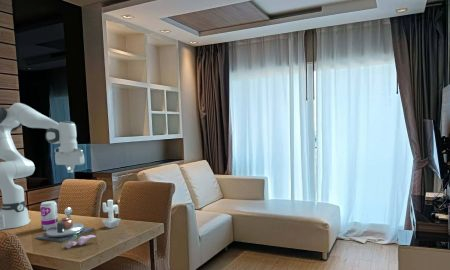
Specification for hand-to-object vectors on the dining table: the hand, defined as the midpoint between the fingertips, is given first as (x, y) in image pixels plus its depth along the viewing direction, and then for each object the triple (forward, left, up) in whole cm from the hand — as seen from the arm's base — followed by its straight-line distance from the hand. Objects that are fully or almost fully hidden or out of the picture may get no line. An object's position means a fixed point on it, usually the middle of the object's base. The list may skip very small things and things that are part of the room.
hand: (70, 172), depth 191 cm
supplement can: (-10, -8, -31) cm, 34 cm away
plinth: (+9, -13, -31) cm, 35 cm away
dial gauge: (+2, -5, -30) cm, 30 cm away
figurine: (+24, +5, -31) cm, 40 cm away
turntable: (+9, -13, -30) cm, 34 cm away
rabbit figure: (+31, -23, -31) cm, 50 cm away
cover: (+9, -13, -28) cm, 32 cm away
